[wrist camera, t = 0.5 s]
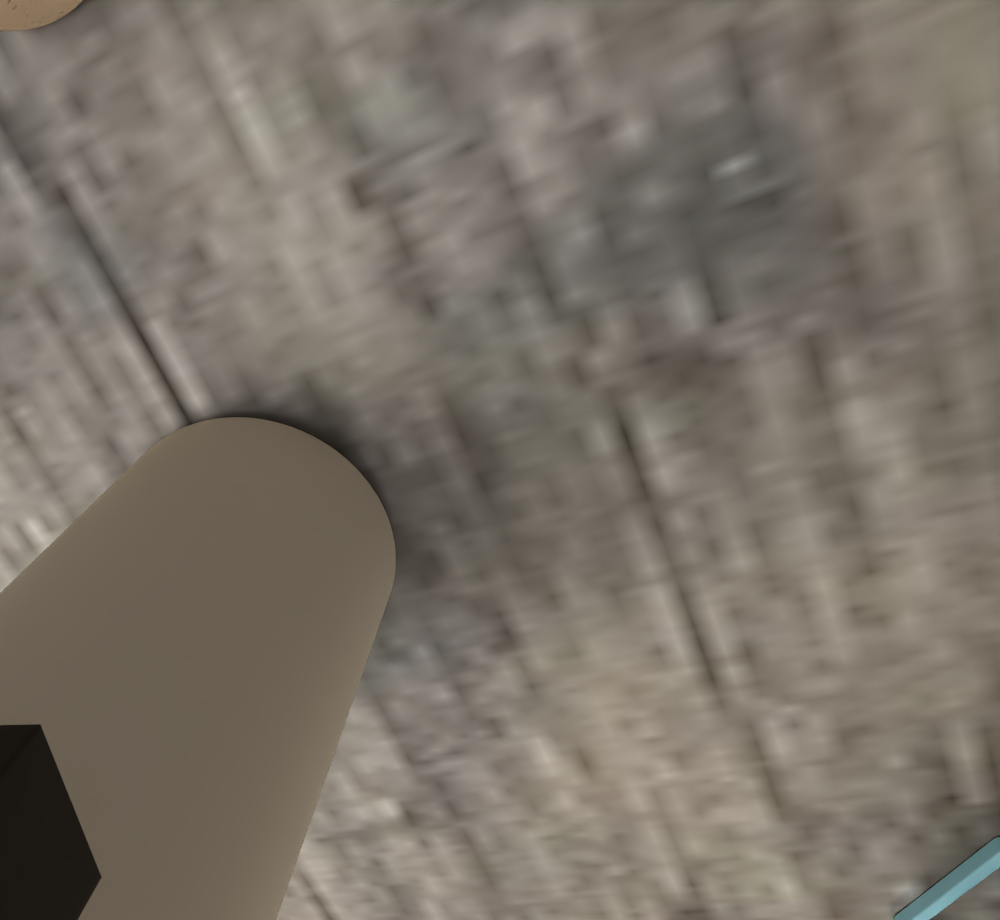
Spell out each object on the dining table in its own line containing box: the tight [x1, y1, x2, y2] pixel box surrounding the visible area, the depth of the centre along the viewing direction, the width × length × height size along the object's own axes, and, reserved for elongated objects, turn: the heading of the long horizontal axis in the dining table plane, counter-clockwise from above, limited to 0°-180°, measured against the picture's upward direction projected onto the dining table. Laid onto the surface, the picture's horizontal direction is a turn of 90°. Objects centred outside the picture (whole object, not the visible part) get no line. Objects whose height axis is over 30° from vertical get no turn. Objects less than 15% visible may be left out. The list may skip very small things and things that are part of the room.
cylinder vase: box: [0, 417, 396, 920], centre depth 31 cm, size 12×12×25 cm
